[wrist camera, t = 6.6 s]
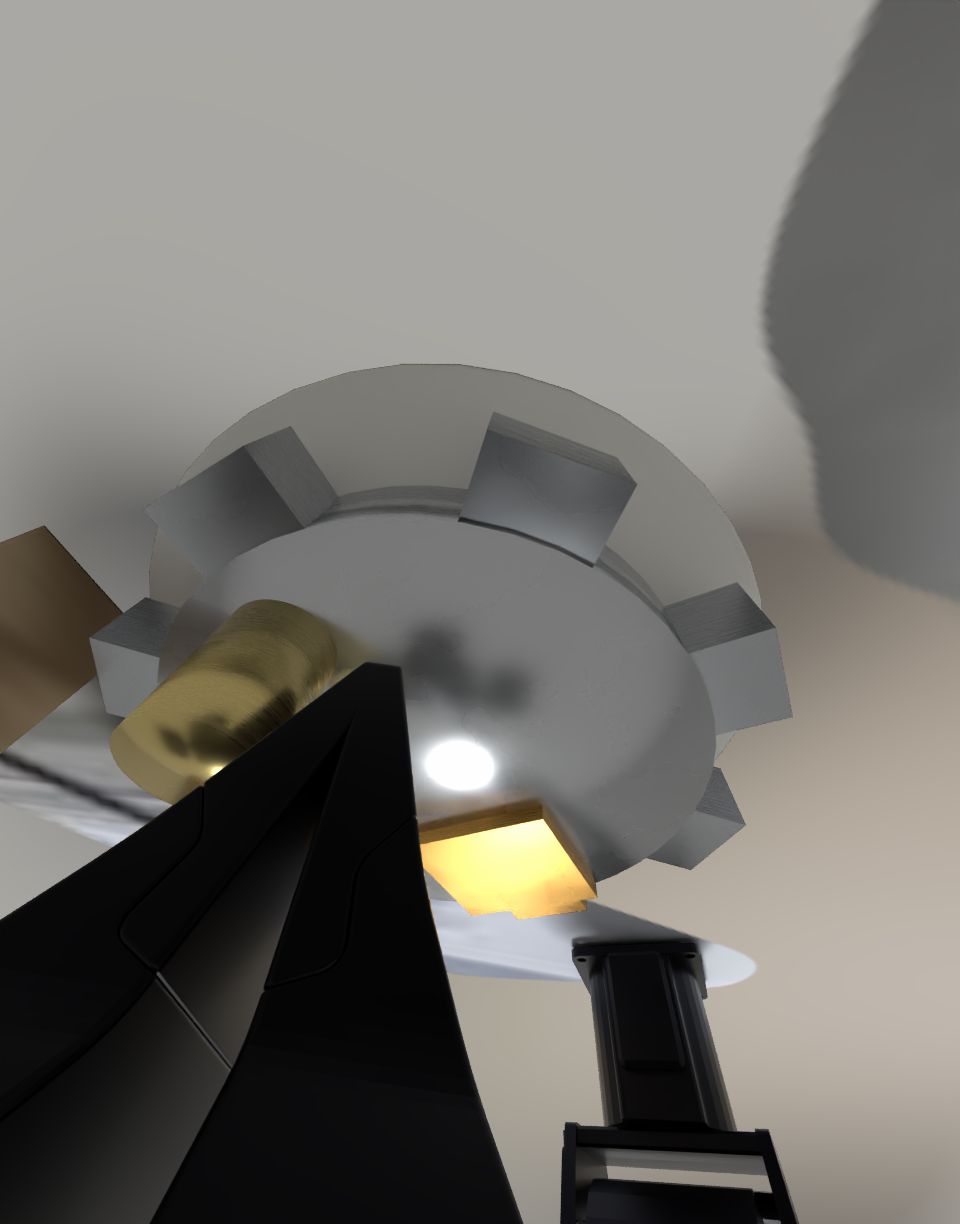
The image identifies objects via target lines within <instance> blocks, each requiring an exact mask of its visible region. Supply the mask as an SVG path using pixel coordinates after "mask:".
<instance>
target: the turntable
mask: <svg viewBox="0 0 960 1224" xmlns="http://www.w3.org/2000/svg"><path fill="white" fill-rule="evenodd" d="M636 486H637V483H636V482H635V481H634V479H633V478H632V477H631V475H630V474H629V473H628V471H627V470H626V468H625V467H624V466H623V464H622V463H621V462H620V460H619V459H618V458H617V457H615V456H612V455H610V454H607V453H604V452H601V451H599V450H596V449H593V448H591V447H588V446H585V445H583V444H580V443H577V442H575V441H572V440H569V439H567V438H564V437H561V436H558V435H556V434H553V433H550V432H548V431H545V430H542V429H540V428H537V427H534V426H532V425H529V424H526V423H524V422H521V421H518V420H515V419H513V418H510V417H507V416H505V415H502V414H499V413H497V412H494V411H493V414H492V416H491V419H490V422H489V425H488V428H487V431H486V434H485V437H484V440H483V443H482V446H481V450H480V453H479V456H478V459H477V462H476V465H475V469H474V472H473V475H472V478H471V481H470V484H469V488H468V489H463V488H453V487H443V486H433V485H421V486H389V487H383V488H377V489H371V490H365V491H359V492H353V493H348V494H345V495H342V496H338V495H337V494H336V492H335V491H334V489H333V488H332V486H331V485H330V483H329V482H328V480H327V479H326V477H325V476H324V474H323V473H322V471H321V470H320V468H319V467H318V465H317V464H316V462H315V461H314V459H313V458H312V456H311V455H310V453H309V452H308V450H307V449H306V447H305V446H304V444H303V443H302V441H301V440H300V439H299V437H298V436H297V434H296V433H295V431H294V430H293V428H292V427H291V426H289V427H287V428H284V429H282V430H279V431H277V432H275V433H272V434H270V435H267V436H265V437H263V438H260V439H258V440H256V441H253V442H251V443H248V444H246V445H244V446H242V447H240V448H239V449H237V450H236V451H234V452H232V453H231V454H229V455H228V456H226V457H224V458H223V459H221V460H220V461H218V462H217V463H215V464H213V465H212V466H210V467H209V468H207V469H205V470H204V471H202V472H201V473H199V474H198V475H196V476H194V477H193V478H191V479H190V480H188V481H186V482H185V483H183V484H182V485H180V486H179V487H177V488H175V489H174V490H172V491H171V492H169V493H168V494H166V495H164V496H163V497H161V498H160V499H158V500H157V501H155V502H153V503H152V504H150V505H149V506H147V507H145V508H144V509H143V511H144V512H145V513H146V514H147V515H148V516H149V518H150V519H151V520H152V521H153V522H154V523H155V524H156V525H157V526H158V527H159V528H160V530H161V531H162V532H163V533H164V534H165V535H166V536H167V537H168V538H169V539H170V540H171V542H172V543H173V544H174V545H175V546H176V547H177V548H178V549H179V550H180V551H181V552H182V554H183V555H184V556H185V557H186V558H187V559H188V560H189V561H190V562H191V563H192V564H193V566H194V567H195V568H196V569H197V570H198V571H199V572H200V573H201V574H202V575H203V576H204V578H205V579H206V580H205V581H204V582H203V583H202V584H201V585H200V586H199V587H198V588H197V590H196V591H195V592H194V593H193V594H192V595H191V596H190V597H189V598H188V599H187V600H186V601H185V603H184V604H183V605H182V607H181V608H180V607H177V606H173V605H170V604H167V603H163V602H160V601H157V600H153V599H150V598H144V599H143V600H141V601H140V602H139V603H137V604H136V605H134V606H133V607H132V608H130V609H129V610H127V611H126V612H125V613H123V614H122V615H120V616H119V617H118V618H116V619H115V620H113V621H112V622H111V623H109V624H108V625H106V626H105V627H104V628H102V629H101V630H99V631H98V632H97V633H95V634H94V635H92V636H91V637H90V638H89V639H90V643H91V648H92V652H93V657H94V661H95V665H96V670H97V674H98V678H99V683H100V687H101V691H102V696H103V700H104V705H105V709H106V713H110V714H113V715H117V716H121V717H124V718H125V719H124V720H123V721H122V722H121V723H120V724H119V725H118V726H117V727H116V728H115V729H114V731H113V733H112V734H111V738H110V749H111V753H112V755H113V758H114V760H115V761H116V763H117V765H118V766H119V767H120V769H121V770H122V771H123V772H124V773H125V774H126V775H127V776H128V777H129V778H130V779H131V780H132V781H133V782H134V783H135V784H137V785H138V786H139V787H141V788H142V789H144V790H145V791H147V792H148V793H150V794H151V795H153V796H155V797H157V798H159V799H161V800H163V801H165V802H167V803H169V804H172V805H174V804H175V803H177V802H178V801H179V800H181V799H182V798H183V797H185V796H186V795H187V794H189V793H190V792H191V791H193V790H194V789H195V788H197V787H198V786H203V787H204V782H205V781H206V780H208V779H209V778H210V777H212V776H213V775H214V774H216V773H217V772H218V771H220V770H221V769H222V768H224V767H225V766H226V765H228V764H229V763H230V762H232V761H233V760H234V759H236V758H237V757H238V756H240V755H241V754H242V753H244V752H245V751H246V750H248V749H249V748H250V747H252V746H253V745H254V744H256V743H257V742H258V741H260V740H261V739H262V738H264V737H265V736H266V735H268V734H269V733H270V732H272V731H273V730H274V729H276V728H277V727H278V726H280V725H281V724H282V723H284V722H285V721H286V720H288V719H289V718H291V717H292V716H293V715H295V714H296V713H297V712H299V711H300V710H301V709H303V708H304V707H305V706H307V705H308V704H309V703H311V702H312V701H313V700H315V699H316V698H317V697H319V696H320V695H321V694H323V693H324V692H325V691H327V690H328V689H329V688H331V687H332V686H333V685H335V684H336V683H337V682H339V681H340V680H341V679H343V678H344V677H345V676H347V675H348V674H349V673H351V672H352V671H353V670H355V669H356V668H357V667H359V666H360V665H361V664H363V663H364V662H368V661H369V662H376V663H383V664H390V665H397V666H400V667H401V668H402V673H403V683H404V693H405V703H406V713H407V722H408V732H409V742H410V752H411V761H412V771H413V781H414V791H415V801H416V810H417V820H418V828H419V837H420V846H421V853H422V860H423V867H424V874H425V880H426V885H427V890H428V894H429V899H435V900H446V901H458V902H459V903H460V904H461V905H462V906H463V907H464V908H465V909H466V910H467V911H468V912H469V913H470V914H471V915H472V916H473V915H480V914H487V913H494V912H501V911H508V910H510V911H511V912H512V913H513V915H514V916H515V917H516V918H517V919H525V918H532V917H540V916H547V915H555V914H562V913H570V912H577V911H584V910H587V904H586V899H592V898H597V891H596V884H595V883H596V882H599V881H601V880H604V879H606V878H609V877H611V876H614V875H616V874H618V873H620V872H622V871H624V870H626V869H628V868H630V867H631V866H633V865H635V864H637V863H639V862H640V861H642V860H643V859H645V858H649V859H652V860H656V861H659V862H663V863H667V864H671V865H675V866H678V867H682V868H685V869H689V870H691V869H693V868H694V867H695V866H696V865H698V864H699V863H700V862H701V861H702V860H704V859H705V858H706V857H707V856H708V855H710V854H711V853H712V852H713V851H715V850H716V849H717V848H718V847H719V846H721V845H722V844H723V843H724V842H726V841H727V840H728V839H729V838H730V837H732V836H733V835H734V834H735V833H737V832H738V831H739V830H740V829H742V828H743V827H744V826H745V825H746V824H745V822H744V820H743V818H742V815H741V813H740V811H739V809H738V807H737V804H736V802H735V800H734V798H733V795H732V793H731V791H730V789H729V787H728V784H727V782H726V780H725V778H724V776H723V773H722V771H721V769H720V768H716V767H713V763H714V757H715V750H716V735H719V734H723V733H728V732H732V731H736V730H740V729H744V728H748V727H752V726H757V725H761V724H765V723H769V722H773V721H778V720H782V719H786V718H790V717H793V716H792V711H791V705H790V700H789V695H788V689H787V684H786V679H785V674H784V668H783V663H782V658H781V652H780V647H779V642H778V637H777V631H776V627H775V626H774V625H773V624H772V623H771V621H770V620H769V619H768V618H767V617H766V615H765V614H764V613H763V612H762V611H761V609H760V608H759V607H758V606H757V605H756V604H755V602H754V601H753V600H752V599H751V598H750V596H749V595H748V594H747V593H746V592H745V591H744V589H743V588H742V587H741V586H740V585H739V583H738V582H736V583H733V584H730V585H727V586H724V587H721V588H718V589H715V590H712V591H709V592H706V593H703V594H700V595H697V596H694V597H691V598H688V599H685V600H682V601H680V602H677V603H674V604H671V605H668V606H665V607H664V605H663V604H662V602H661V601H660V600H659V598H658V597H657V596H656V594H655V593H654V592H653V590H652V589H651V588H650V586H649V585H648V583H647V582H646V581H645V580H644V579H643V578H642V577H641V576H640V575H639V574H638V573H637V572H636V571H635V570H634V569H633V568H632V567H631V566H630V565H629V564H628V563H627V562H626V561H625V560H624V559H623V558H622V557H621V556H620V555H619V554H617V553H616V552H614V551H613V550H612V549H610V548H609V547H608V546H606V545H605V544H606V542H607V540H608V538H609V537H610V535H611V533H612V531H613V529H614V527H615V525H616V523H617V522H618V520H619V518H620V516H621V514H622V512H623V510H624V509H625V507H626V505H627V503H628V501H629V499H630V497H631V495H632V494H633V492H634V490H635V488H636Z"/></svg>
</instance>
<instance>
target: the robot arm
mask: <svg viewBox="0 0 960 1224" xmlns="http://www.w3.org/2000/svg"><path fill="white" fill-rule="evenodd" d="M572 961H573V962H574V964H575V966H576V968H577V970H578V972H579V974H580V976H581V978H582V980H583V982H584V984H585V986H586V988H587V989H588V991H589V993H590V995H591V1002H592V1012H593V1021H594V1030H595V1039H596V1040H595V1041H596V1050H597V1060H598V1071H599V1080H600V1090H601V1099H602V1110H603V1120H604V1127H600V1126H581V1125H579V1124H578V1123H574V1122H566V1123H565V1130H564V1131H563V1135H564V1146H563V1148H562V1176H561V1177H562V1178H561V1179H562V1180H561V1218H560V1219H561V1220H560V1224H799V1221H798V1218H797V1215H796V1212H795V1209H794V1205H793V1202H792V1199H791V1196H790V1193H789V1190H788V1186H787V1183H786V1180H785V1177H784V1173H783V1170H782V1167H781V1164H780V1160H779V1157H778V1154H777V1151H776V1148H775V1146H774V1143H773V1140H772V1137H771V1135H770V1132H769V1130H768V1129H755V1132H739V1131H737V1128H736V1124H735V1120H734V1116H733V1113H732V1109H731V1105H730V1101H729V1098H728V1094H727V1090H726V1086H725V1083H724V1079H723V1075H722V1072H721V1068H720V1064H719V1061H718V1057H717V1053H716V1050H715V1045H714V1042H713V1038H712V1034H711V1030H710V1027H709V1023H708V1019H707V1016H706V1012H705V1008H704V1004H703V1001H702V1000H703V999H706V998H707V990H706V984H705V978H704V972H703V966H702V960H701V955H700V951H699V948H698V946H697V945H696V944H694V943H667V944H644V945H621V946H597V947H577V948H574V949H572ZM606 1166H620V1167H636V1168H652V1169H668V1170H669V1169H670V1170H684V1171H702V1172H717V1173H733V1174H749V1175H750V1174H751V1175H766V1176H768V1178H769V1182H770V1185H771V1189H772V1192H764V1191H753V1190H752V1189H749V1188H735V1187H720V1186H705V1185H691V1184H677V1183H663V1182H649V1181H635V1180H620V1179H608V1175H607V1168H606ZM0 1224H523V1221H522V1218H521V1215H520V1212H519V1210H518V1207H517V1204H516V1201H515V1198H514V1195H513V1193H512V1189H511V1187H510V1184H509V1181H508V1178H507V1175H506V1172H505V1169H504V1166H503V1164H502V1161H501V1158H500V1155H499V1152H498V1150H497V1147H496V1143H495V1141H494V1138H493V1135H492V1132H491V1129H490V1126H489V1123H488V1121H487V1118H486V1115H485V1111H484V1108H483V1105H482V1102H481V1099H480V1096H479V1093H478V1089H477V1086H476V1083H475V1080H474V1077H473V1073H472V1069H471V1066H470V1062H469V1059H468V1055H467V1051H466V1048H465V1044H464V1040H463V1036H462V1032H461V1028H460V1024H459V1021H458V1016H457V1012H456V1008H455V1004H454V1000H453V996H452V992H451V988H450V983H449V979H448V975H447V971H446V967H445V963H444V959H443V955H442V951H441V947H440V942H439V938H438V934H437V930H436V926H435V922H434V918H433V913H432V909H431V904H430V899H429V894H428V890H427V885H426V880H425V874H424V867H423V860H422V853H421V846H420V837H419V828H418V820H417V810H416V801H415V791H414V781H413V771H412V761H411V752H410V742H409V732H408V722H407V713H406V703H405V693H404V683H403V673H402V668H401V667H400V666H397V665H390V664H383V663H376V662H369V661H368V662H364V663H363V664H361V665H360V666H359V667H357V668H356V669H355V670H353V671H352V672H351V673H349V674H348V675H347V676H345V677H344V678H343V679H341V680H340V681H339V682H337V683H336V684H335V685H333V686H332V687H331V688H329V689H328V690H327V691H325V692H324V693H323V694H321V695H320V696H319V697H317V698H316V699H315V700H313V701H312V702H311V703H309V704H308V705H307V706H305V707H304V708H303V709H301V710H300V711H299V712H297V713H296V714H295V715H293V716H292V717H291V718H289V719H288V720H286V721H285V722H284V723H282V724H281V725H280V726H278V727H277V728H276V729H274V730H273V731H272V732H270V733H269V734H268V735H266V736H265V737H264V738H262V739H261V740H260V741H258V742H257V743H256V744H254V745H253V746H252V747H250V748H249V749H248V750H246V751H245V752H244V753H242V754H241V755H240V756H238V757H237V758H236V759H234V760H233V761H232V762H230V763H229V764H228V765H226V766H225V767H224V768H222V769H221V770H220V771H218V772H217V773H216V774H214V775H213V776H212V777H210V778H209V779H208V780H206V781H205V782H204V787H203V786H198V787H197V788H195V789H194V790H193V791H191V792H190V793H189V794H187V795H186V796H185V797H183V798H182V799H181V800H179V801H178V802H177V803H175V804H174V805H172V806H171V807H170V808H168V809H167V810H165V811H164V812H163V813H161V814H160V815H159V816H157V817H156V818H154V819H153V820H152V821H150V822H149V823H147V824H146V825H145V826H143V827H142V828H140V829H139V830H138V831H136V832H135V833H133V834H132V835H130V836H129V837H127V838H126V839H124V840H123V841H121V842H120V843H118V844H117V845H115V846H114V847H112V848H111V849H109V850H108V851H106V852H105V853H103V854H102V855H100V856H99V857H97V858H96V859H94V860H93V861H91V862H90V863H88V864H86V865H85V866H83V867H82V868H80V869H79V870H77V871H76V872H74V873H72V874H71V875H69V876H68V877H66V878H65V879H63V880H61V881H60V882H58V883H57V884H55V885H54V886H52V887H51V888H49V889H47V890H46V891H44V892H43V893H41V894H40V895H38V896H37V897H35V898H33V899H32V900H30V901H29V902H27V903H26V904H24V905H23V906H21V907H20V908H18V909H16V910H15V911H13V912H12V913H10V914H8V915H7V916H5V917H4V918H2V919H1V920H0Z"/></svg>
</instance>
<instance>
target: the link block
mask: <svg viewBox="0 0 960 1224" xmlns="http://www.w3.org/2000/svg"><path fill="white" fill-rule="evenodd" d="M122 614H123V612H122V611H121V610H120V609H119V608H118V606H116V604H115V603H114V602H113V601H112V600H111V599H110V598H109V596H108V595H107V594H106V593H105V592H104V591H103V590H102V589H101V588H100V586H99V585H98V584H97V583H96V582H95V581H94V580H93V579H92V578H91V576H90V575H89V574H88V573H87V572H86V571H85V570H84V569H83V568H82V566H81V565H80V564H79V563H78V562H77V561H76V560H75V559H74V557H73V556H72V555H71V554H70V553H69V552H68V551H67V550H66V549H65V548H64V546H63V545H62V544H61V543H60V542H59V541H58V540H57V539H56V538H55V536H54V535H53V534H52V533H51V532H50V531H49V530H48V529H47V527H46V526H42V527H39V528H37V529H34V530H31V531H29V532H26V533H24V534H22V535H19V536H16V537H14V538H11V539H9V540H6V541H4V542H1V543H0V754H1V753H2V752H3V751H4V750H5V749H7V748H8V747H9V746H10V745H12V744H13V743H14V742H15V741H16V740H18V739H19V738H20V737H21V736H23V735H24V734H25V733H26V732H28V731H29V730H30V729H31V728H32V727H34V726H35V725H36V724H37V723H39V722H40V721H41V720H42V719H43V718H45V717H46V716H47V715H48V714H50V713H51V712H52V711H53V710H55V709H56V708H57V707H58V706H59V705H61V704H62V703H63V702H64V701H66V700H67V699H68V698H69V697H70V696H72V695H73V694H74V693H75V692H77V691H78V690H79V689H80V688H82V687H83V686H84V685H85V684H86V683H88V682H89V681H90V680H91V679H93V678H94V677H95V676H96V675H98V674H97V670H96V665H95V661H94V657H93V652H92V648H91V643H90V639H89V638H90V637H91V636H92V635H94V634H95V633H97V632H98V631H99V630H101V629H102V628H104V627H105V626H106V625H108V624H109V623H111V622H112V621H113V620H115V619H116V618H118V617H119V616H120V615H122Z"/></svg>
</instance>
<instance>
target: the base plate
mask: <svg viewBox="0 0 960 1224" xmlns="http://www.w3.org/2000/svg"><path fill="white" fill-rule="evenodd" d="M493 411H494V412H497V413H499V414H502V415H505V416H507V417H510V418H513V419H515V420H518V421H521V422H524V423H526V424H529V425H532V426H534V427H537V428H540V429H542V430H545V431H548V432H550V433H553V434H556V435H558V436H561V437H564V438H567V439H569V440H572V441H575V442H577V443H580V444H583V445H585V446H588V447H591V448H593V449H596V450H599V451H601V452H604V453H607V454H610V455H612V456H615V457H617V458H618V459H619V460H620V462H621V463H622V464H623V466H624V467H625V468H626V470H627V471H628V473H629V474H630V475H631V477H632V478H633V479H634V481H635V482H636V483H637V486H636V488H635V490H634V492H633V494H632V495H631V497H630V499H629V501H628V503H627V505H626V507H625V509H624V510H623V512H622V514H621V516H620V518H619V520H618V522H617V523H616V525H615V527H614V529H613V531H612V533H611V535H610V537H609V538H608V540H607V542H606V544H605V545H606V546H608V547H609V548H610V549H612V550H613V551H614V552H616V553H617V554H619V555H620V556H621V557H622V558H623V559H624V560H625V561H626V562H627V563H628V564H629V565H630V566H631V567H632V568H633V569H634V570H635V571H636V572H637V573H638V574H639V575H640V576H641V577H642V578H643V579H644V580H645V581H646V582H647V583H648V585H649V586H650V588H651V589H652V590H653V592H654V593H655V594H656V596H657V597H658V598H659V600H660V601H661V602H662V604H663V605H664V607H665V606H668V605H671V604H674V603H677V602H680V601H682V600H685V599H688V598H691V597H694V596H697V595H700V594H703V593H706V592H709V591H712V590H715V589H718V588H721V587H724V586H727V585H730V584H733V583H736V582H738V583H739V585H740V586H741V587H742V588H743V589H744V591H745V592H746V593H747V594H748V595H749V596H750V598H751V599H752V600H753V601H754V602H755V604H756V605H757V606H758V607H759V608H760V609H761V611H762V607H761V597H760V593H759V590H758V586H757V583H756V579H755V576H754V572H753V569H752V565H751V562H750V559H749V557H748V555H747V552H746V551H745V548H744V547H743V544H742V542H741V540H740V538H739V536H738V534H737V532H736V530H735V528H734V526H733V524H732V522H731V520H730V519H729V518H728V516H727V515H726V514H725V512H724V511H723V510H722V508H721V507H720V506H719V504H718V503H717V501H716V500H715V499H714V497H713V496H712V495H711V493H710V492H709V491H708V489H707V488H706V486H705V485H704V484H703V483H702V482H701V481H700V480H699V479H698V478H697V477H696V476H695V475H694V474H693V473H692V472H691V471H690V470H689V469H688V468H687V467H686V466H685V465H684V464H683V463H682V462H680V460H679V459H678V458H677V457H675V456H674V455H673V454H672V453H671V452H670V451H669V450H668V449H667V448H666V447H665V446H664V445H662V444H661V443H660V442H658V441H657V440H655V439H654V438H652V437H651V436H649V435H648V434H647V433H645V432H644V431H642V430H641V429H639V428H638V427H637V426H635V425H634V424H632V423H631V422H630V421H628V420H627V419H625V418H624V417H622V416H621V415H619V414H617V413H615V412H613V411H611V410H609V409H607V408H605V407H603V406H601V405H599V404H597V403H595V402H593V401H591V400H589V399H587V398H585V397H583V396H581V395H578V394H576V393H575V392H573V391H571V390H568V389H564V388H561V387H558V386H555V385H552V384H548V383H545V382H542V381H539V380H536V379H533V378H529V377H526V376H523V375H520V374H517V373H511V372H505V371H499V370H492V369H486V368H479V367H473V366H467V365H460V364H400V365H394V366H387V367H380V368H373V369H367V370H361V371H353V372H348V373H344V374H341V375H338V376H335V377H332V378H328V379H325V380H322V381H319V382H316V383H313V384H309V385H306V386H304V387H300V388H297V389H294V390H292V391H290V392H288V393H286V394H284V395H282V396H280V397H278V398H276V399H274V400H272V401H271V402H269V403H267V404H265V405H263V406H261V407H259V408H257V409H255V410H253V411H251V412H249V413H248V414H247V415H246V416H244V417H243V418H242V419H240V420H239V421H238V422H237V423H235V424H234V425H233V426H231V427H230V428H229V429H227V430H226V431H225V432H224V433H222V434H221V435H220V436H218V437H217V438H216V439H214V440H213V442H212V443H211V444H210V445H209V446H208V447H207V448H206V449H205V451H204V452H203V453H202V454H201V455H200V456H199V458H197V460H196V461H195V462H194V463H193V464H192V465H191V466H190V468H189V469H188V470H187V471H186V472H185V474H184V476H183V478H182V479H181V481H180V483H179V484H178V486H177V487H179V486H180V485H182V484H183V483H185V482H186V481H188V480H190V479H191V478H193V477H194V476H196V475H198V474H199V473H201V472H202V471H204V470H205V469H207V468H209V467H210V466H212V465H213V464H215V463H217V462H218V461H220V460H221V459H223V458H224V457H226V456H228V455H229V454H231V453H232V452H234V451H236V450H237V449H239V448H240V447H242V446H244V445H246V444H248V443H251V442H253V441H256V440H258V439H260V438H263V437H265V436H267V435H270V434H272V433H275V432H277V431H279V430H282V429H284V428H287V427H289V426H291V427H292V428H293V430H294V431H295V433H296V434H297V436H298V437H299V439H300V440H301V441H302V443H303V444H304V446H305V447H306V449H307V450H308V452H309V453H310V455H311V456H312V458H313V459H314V461H315V462H316V464H317V465H318V467H319V468H320V470H321V471H322V473H323V474H324V476H325V477H326V479H327V480H328V482H329V483H330V485H331V486H332V488H333V489H334V491H335V492H336V494H337V495H338V496H342V495H345V494H348V493H353V492H359V491H365V490H371V489H377V488H383V487H389V486H421V485H433V486H443V487H453V488H463V489H468V488H469V484H470V481H471V478H472V475H473V472H474V469H475V465H476V462H477V459H478V456H479V453H480V450H481V446H482V443H483V440H484V437H485V434H486V431H487V428H488V425H489V422H490V419H491V416H492V414H493ZM149 574H150V575H149V576H150V599H153V600H157V601H160V602H163V603H167V604H170V605H173V606H177V607H180V608H181V607H182V605H183V604H184V603H185V601H186V600H187V599H188V598H189V597H190V596H191V595H192V594H193V593H194V592H195V591H196V590H197V588H198V587H199V586H200V585H201V584H202V583H203V582H204V581H205V580H206V579H205V578H204V576H203V575H202V574H201V573H200V572H199V571H198V570H197V569H196V568H195V567H194V566H193V564H192V563H191V562H190V561H189V560H188V559H187V558H186V557H185V556H184V555H183V554H182V552H181V551H180V550H179V549H178V548H177V547H176V546H175V545H174V544H173V543H172V542H171V540H170V539H169V538H168V537H167V536H166V535H165V534H164V533H163V532H162V531H161V530H160V528H159V527H158V530H157V533H156V536H155V540H154V546H153V552H152V559H151V565H150V571H149ZM736 731H737V730H736ZM736 731H732V732H728V733H723V734H719V735H716V750H715V757H714V761H715V760H716V758H717V757H718V756H719V755H720V754H721V753H722V752H723V750H724V749H725V747H726V746H727V744H728V743H729V741H730V740H731V738H732V737H733V735H734V734H735V732H736Z"/></svg>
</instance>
